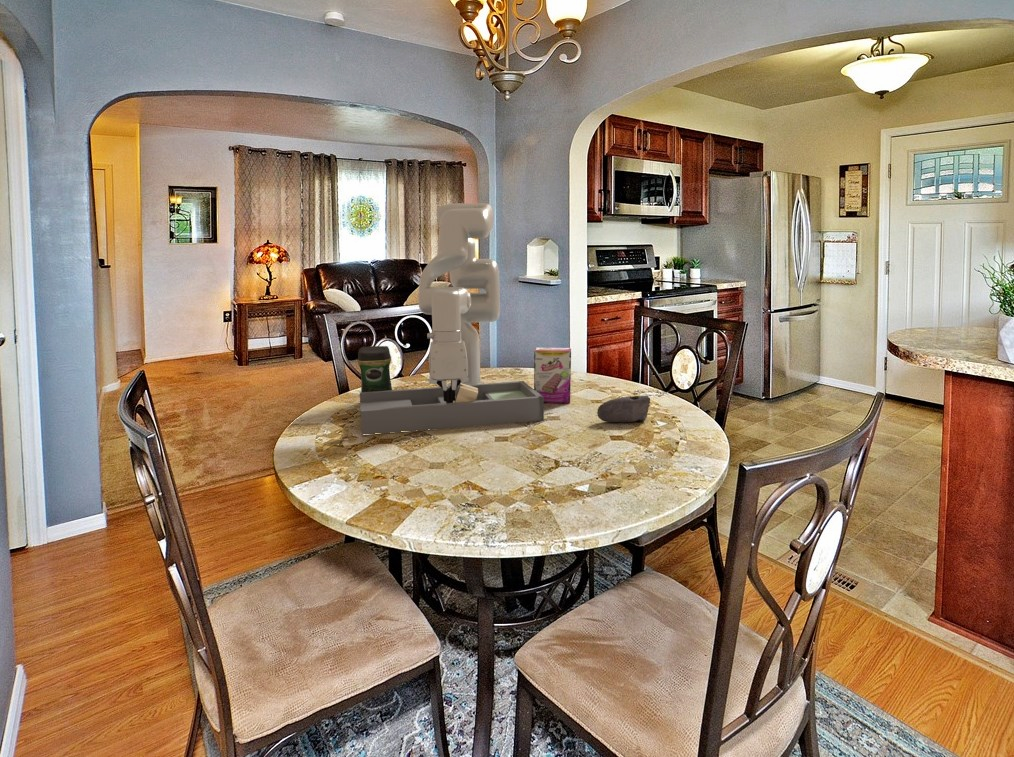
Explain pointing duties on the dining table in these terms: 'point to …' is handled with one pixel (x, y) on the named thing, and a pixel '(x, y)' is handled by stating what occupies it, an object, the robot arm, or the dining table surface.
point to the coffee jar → (375, 368)
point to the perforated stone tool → (624, 409)
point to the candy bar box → (553, 374)
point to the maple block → (466, 393)
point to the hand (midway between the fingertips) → (449, 403)
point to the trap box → (449, 408)
